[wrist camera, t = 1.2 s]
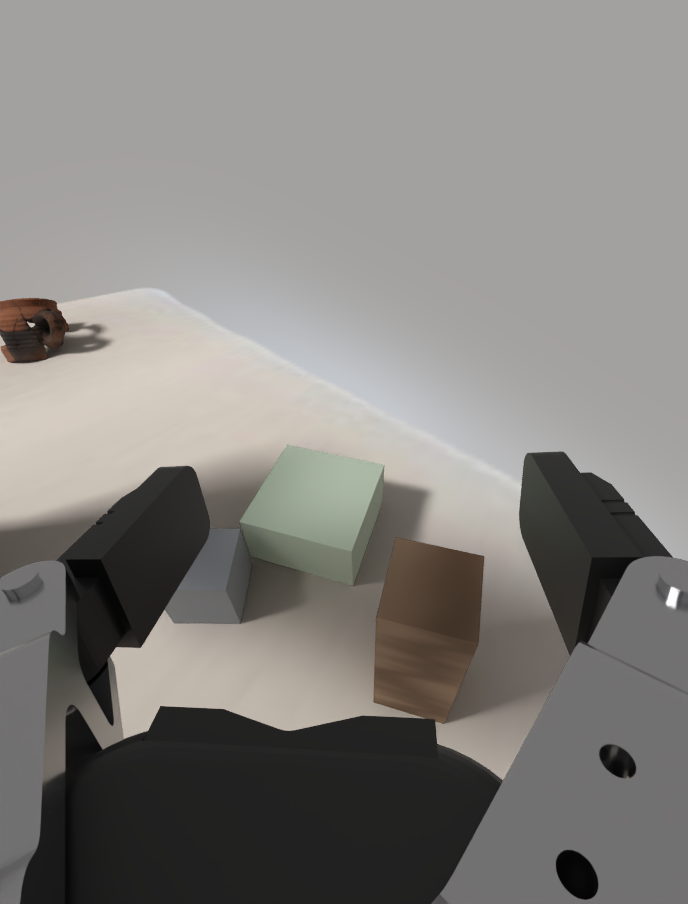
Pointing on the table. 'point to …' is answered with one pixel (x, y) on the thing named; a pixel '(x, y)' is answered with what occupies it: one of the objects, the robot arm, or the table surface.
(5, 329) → the brown arched piece
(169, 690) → the table surface
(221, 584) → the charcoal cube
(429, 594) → the walnut post
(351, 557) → the sage block
